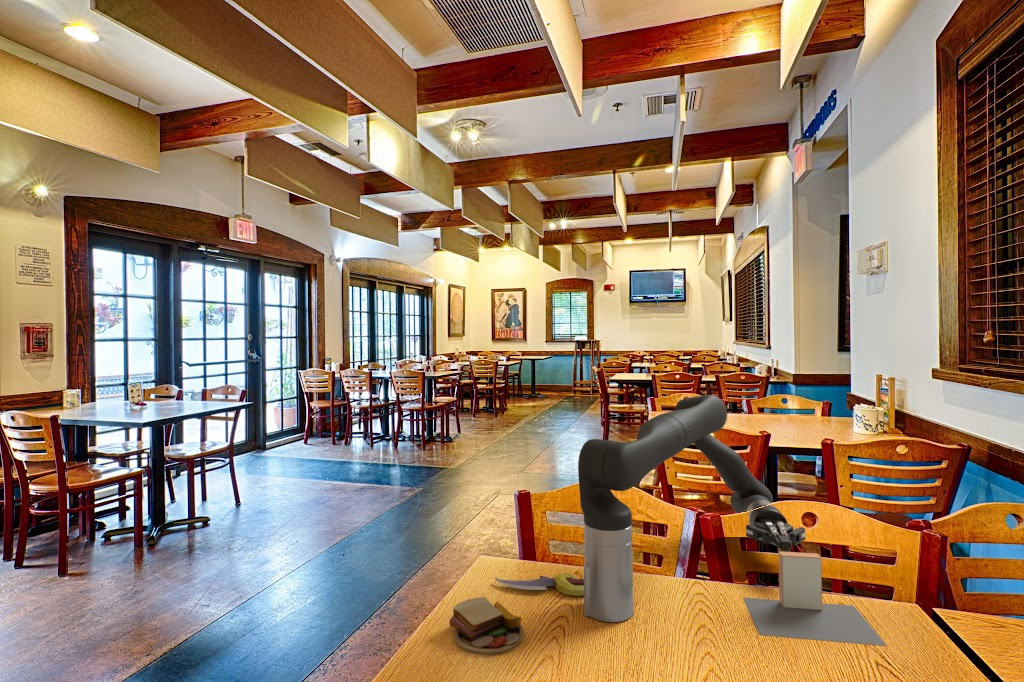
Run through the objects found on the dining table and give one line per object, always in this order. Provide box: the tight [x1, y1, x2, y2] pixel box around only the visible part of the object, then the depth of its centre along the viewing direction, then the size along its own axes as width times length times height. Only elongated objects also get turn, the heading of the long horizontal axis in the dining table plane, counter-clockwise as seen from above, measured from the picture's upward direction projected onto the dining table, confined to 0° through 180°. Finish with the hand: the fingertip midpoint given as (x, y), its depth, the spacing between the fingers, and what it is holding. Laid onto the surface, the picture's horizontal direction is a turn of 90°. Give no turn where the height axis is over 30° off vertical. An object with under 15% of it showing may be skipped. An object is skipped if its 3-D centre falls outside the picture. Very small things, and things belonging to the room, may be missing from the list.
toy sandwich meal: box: [449, 596, 525, 655], centre depth 100 cm, size 12×14×5 cm
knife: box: [494, 572, 584, 597], centre depth 118 cm, size 8×3×25 cm
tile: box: [778, 550, 823, 610], centre depth 106 cm, size 7×2×10 cm, turn 78°
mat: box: [742, 597, 888, 647], centre depth 101 cm, size 20×14×1 cm
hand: (786, 546), depth 115 cm, fingers closed
